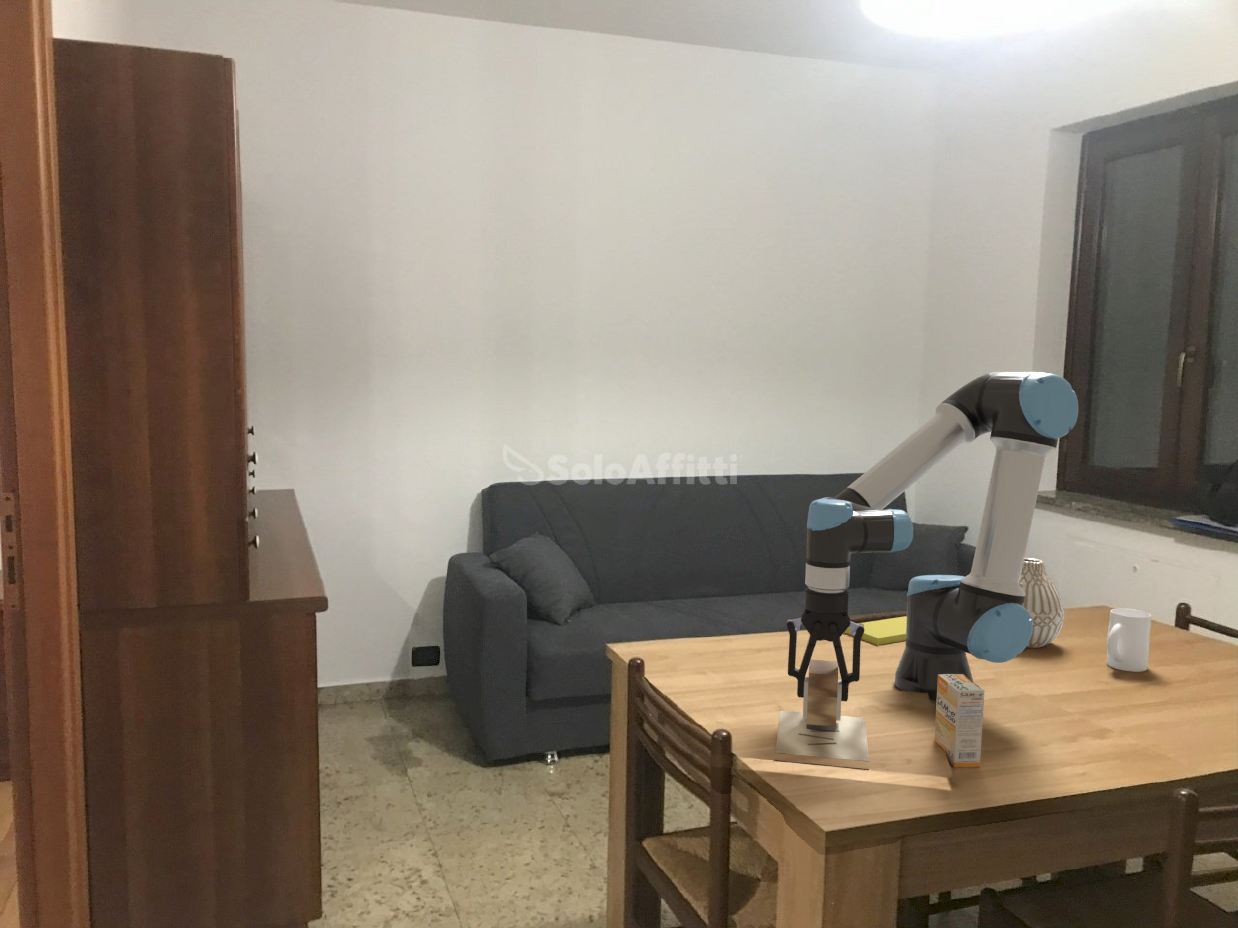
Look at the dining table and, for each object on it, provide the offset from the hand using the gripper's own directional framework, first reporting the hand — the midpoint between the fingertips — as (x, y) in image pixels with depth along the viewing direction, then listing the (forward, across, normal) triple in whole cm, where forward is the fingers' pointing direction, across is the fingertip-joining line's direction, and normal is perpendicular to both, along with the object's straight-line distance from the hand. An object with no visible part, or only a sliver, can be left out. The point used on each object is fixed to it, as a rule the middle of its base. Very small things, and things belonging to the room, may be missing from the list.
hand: (821, 716), depth 173 cm
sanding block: (+1, 0, 0) cm, 1 cm away
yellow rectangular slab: (+3, -17, -71) cm, 73 cm away
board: (+3, 0, +6) cm, 6 cm away
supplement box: (+3, -22, +6) cm, 23 cm away
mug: (+3, -64, -55) cm, 84 cm away
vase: (+3, -47, -70) cm, 84 cm away
